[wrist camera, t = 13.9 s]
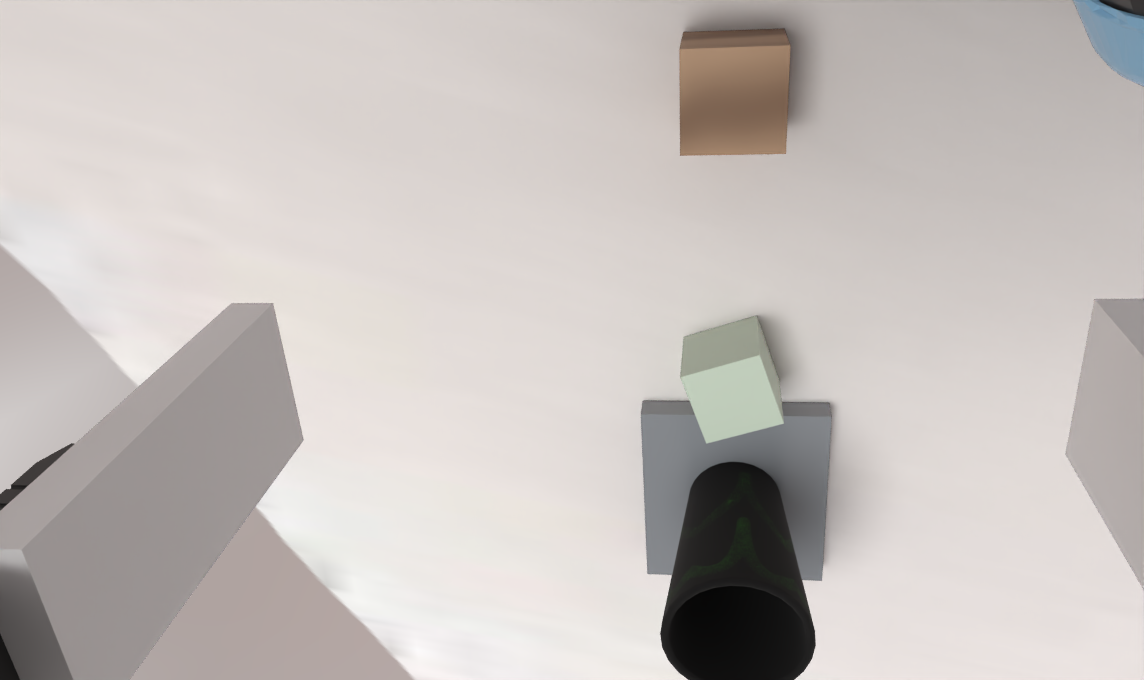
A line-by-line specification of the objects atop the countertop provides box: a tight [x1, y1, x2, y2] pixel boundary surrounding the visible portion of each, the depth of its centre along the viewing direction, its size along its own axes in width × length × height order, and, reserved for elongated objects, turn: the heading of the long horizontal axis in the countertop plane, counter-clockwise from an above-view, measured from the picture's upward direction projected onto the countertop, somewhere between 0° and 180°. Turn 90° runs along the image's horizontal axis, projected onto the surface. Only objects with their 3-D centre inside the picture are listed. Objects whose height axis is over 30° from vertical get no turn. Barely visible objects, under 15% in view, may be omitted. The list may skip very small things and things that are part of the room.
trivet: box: [641, 401, 832, 581], centre depth 59 cm, size 12×11×2 cm
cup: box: [660, 462, 816, 680], centre depth 53 cm, size 8×8×12 cm
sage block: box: [680, 316, 784, 444], centre depth 54 cm, size 4×4×5 cm
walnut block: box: [680, 29, 790, 156], centre depth 47 cm, size 5×5×5 cm
